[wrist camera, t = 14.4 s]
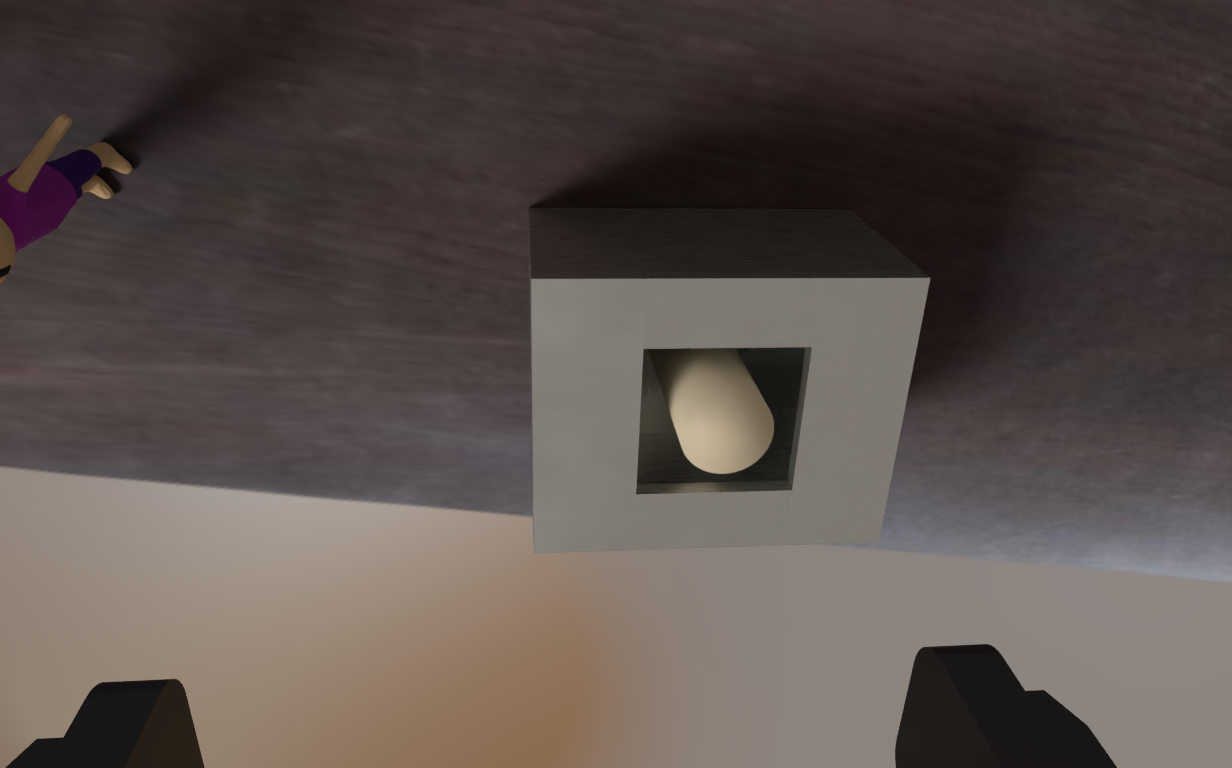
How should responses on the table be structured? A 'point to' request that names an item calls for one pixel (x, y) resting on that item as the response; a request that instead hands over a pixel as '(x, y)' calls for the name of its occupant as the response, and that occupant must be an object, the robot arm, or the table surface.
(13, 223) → the toy
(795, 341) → the white hollow block
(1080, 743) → the robot arm
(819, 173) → the table surface
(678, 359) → the capsule
